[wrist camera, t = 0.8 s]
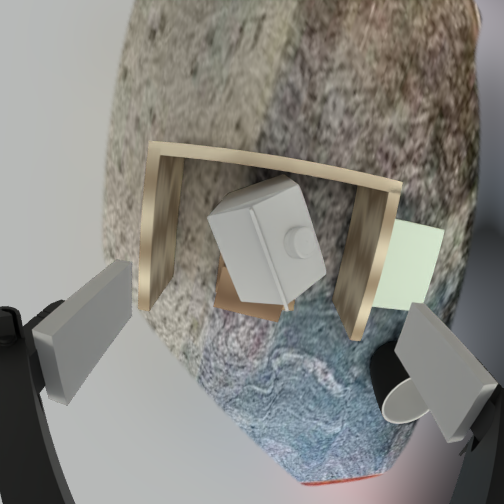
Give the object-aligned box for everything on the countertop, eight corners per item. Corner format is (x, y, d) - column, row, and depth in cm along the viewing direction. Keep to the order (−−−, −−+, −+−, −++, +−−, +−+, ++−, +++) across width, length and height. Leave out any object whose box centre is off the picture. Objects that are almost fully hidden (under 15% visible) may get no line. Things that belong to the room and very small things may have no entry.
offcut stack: (223, 244, 40) (214, 264, 32) (297, 255, 40) (305, 277, 32) (217, 285, 41) (209, 313, 34) (288, 296, 41) (294, 325, 34)
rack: (177, 143, 36) (149, 140, 27) (369, 174, 36) (402, 182, 27) (164, 274, 41) (138, 309, 31) (340, 300, 41) (360, 340, 32)
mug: (409, 376, 45) (432, 417, 35) (358, 383, 45) (375, 428, 36) (425, 312, 42) (457, 348, 32) (370, 316, 42) (394, 358, 32)
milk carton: (247, 248, 40) (237, 327, 21) (227, 193, 38) (195, 229, 20) (303, 229, 39) (339, 294, 21) (284, 173, 37) (307, 189, 19)
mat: (364, 212, 38) (366, 213, 37) (442, 229, 38) (444, 230, 37) (343, 301, 41) (344, 303, 41) (418, 309, 42) (420, 311, 41)
